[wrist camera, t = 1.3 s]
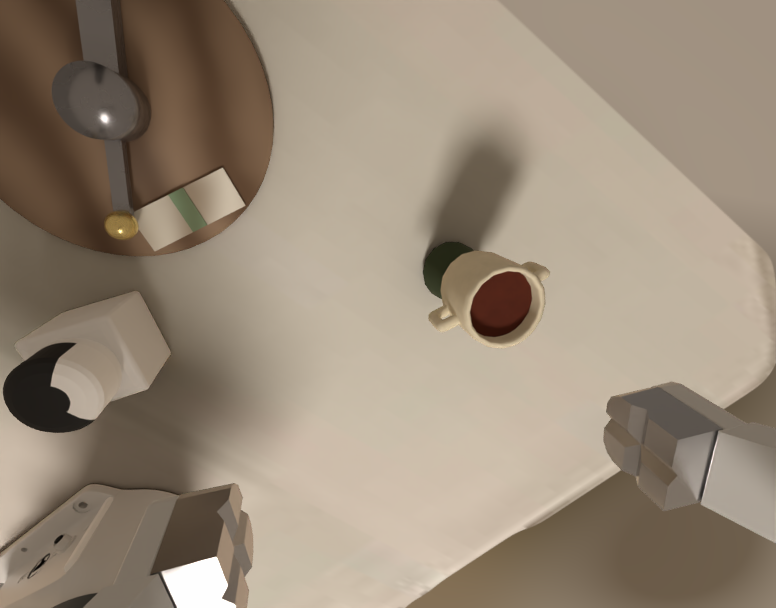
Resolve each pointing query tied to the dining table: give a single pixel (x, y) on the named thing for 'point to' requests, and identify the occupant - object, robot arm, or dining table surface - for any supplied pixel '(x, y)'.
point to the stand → (157, 145)
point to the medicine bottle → (85, 363)
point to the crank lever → (105, 103)
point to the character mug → (485, 294)
